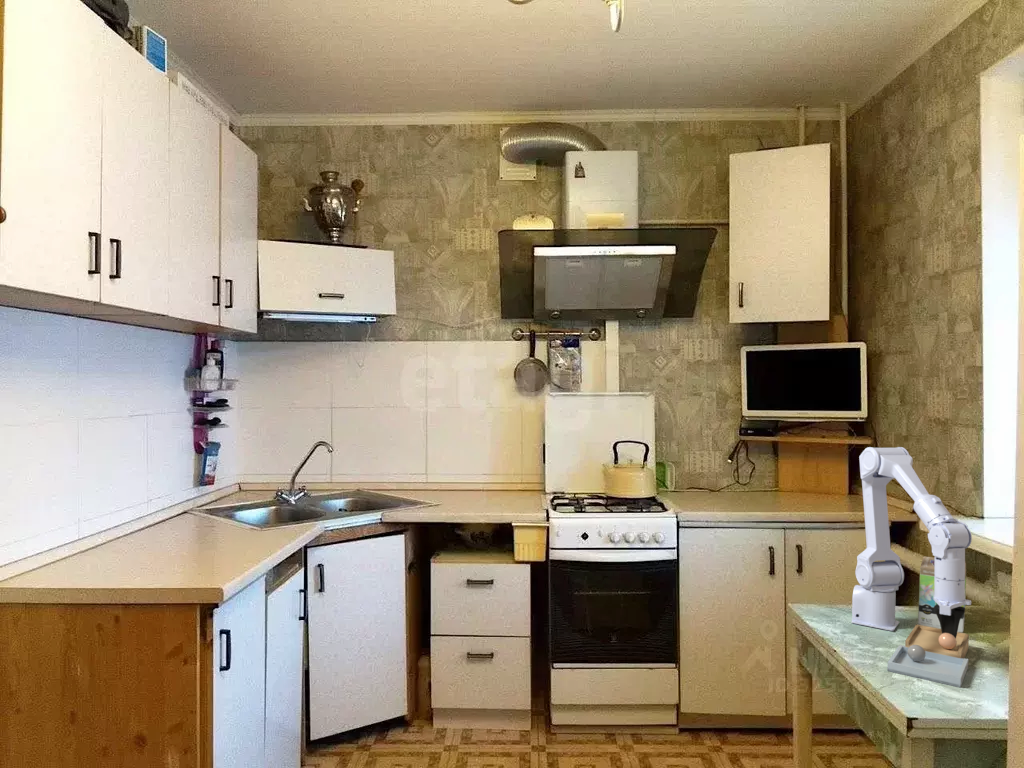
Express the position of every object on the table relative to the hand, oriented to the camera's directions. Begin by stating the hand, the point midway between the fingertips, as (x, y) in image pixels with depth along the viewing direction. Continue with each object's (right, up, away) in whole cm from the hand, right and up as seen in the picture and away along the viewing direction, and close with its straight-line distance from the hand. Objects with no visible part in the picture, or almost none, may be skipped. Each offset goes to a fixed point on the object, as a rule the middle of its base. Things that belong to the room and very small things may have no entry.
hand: (949, 640), depth 160 cm
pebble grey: (-9, -2, -3) cm, 10 cm away
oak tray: (0, -4, +4) cm, 5 cm away
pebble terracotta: (-1, 0, -1) cm, 1 cm away
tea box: (+13, -4, +25) cm, 28 cm away
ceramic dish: (-8, -4, -6) cm, 11 cm away
